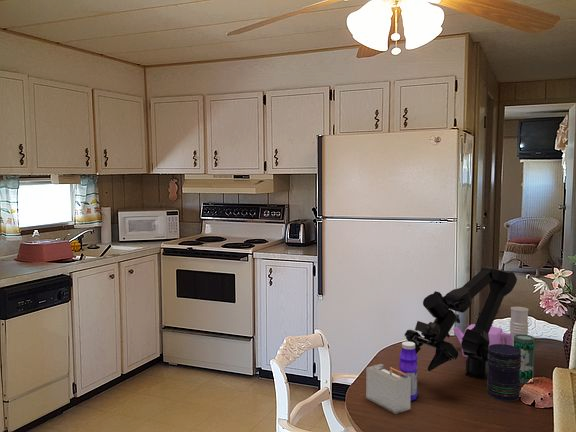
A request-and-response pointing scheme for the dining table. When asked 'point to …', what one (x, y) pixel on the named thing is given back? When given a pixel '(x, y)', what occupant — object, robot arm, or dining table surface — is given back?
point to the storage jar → (503, 372)
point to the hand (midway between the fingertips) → (417, 366)
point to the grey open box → (388, 389)
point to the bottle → (409, 365)
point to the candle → (519, 321)
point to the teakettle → (494, 336)
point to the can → (525, 356)
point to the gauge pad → (393, 373)
